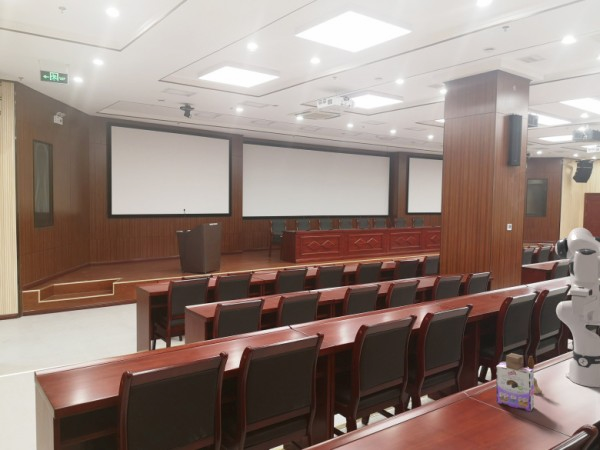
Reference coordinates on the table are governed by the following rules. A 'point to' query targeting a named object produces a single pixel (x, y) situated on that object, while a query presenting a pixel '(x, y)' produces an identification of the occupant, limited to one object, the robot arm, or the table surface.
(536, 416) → the table surface
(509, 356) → the walnut cube
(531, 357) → the hand bell
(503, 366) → the candy box
